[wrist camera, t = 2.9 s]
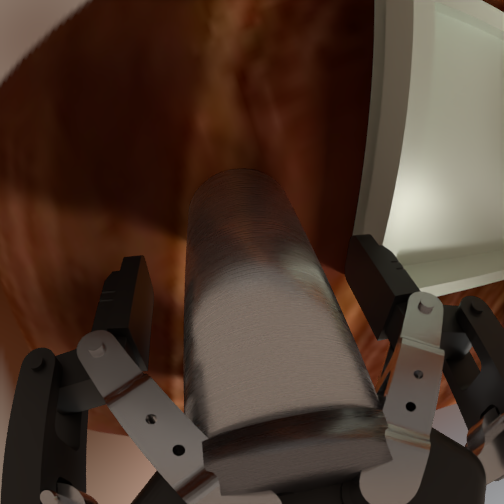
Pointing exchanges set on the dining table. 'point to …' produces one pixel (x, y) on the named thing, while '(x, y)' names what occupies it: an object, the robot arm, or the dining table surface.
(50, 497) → the robot arm
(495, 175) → the tray
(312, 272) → the cylinder
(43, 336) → the dining table surface
